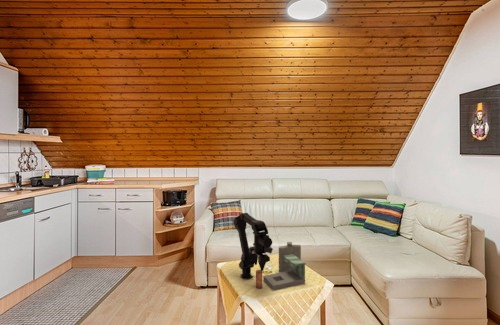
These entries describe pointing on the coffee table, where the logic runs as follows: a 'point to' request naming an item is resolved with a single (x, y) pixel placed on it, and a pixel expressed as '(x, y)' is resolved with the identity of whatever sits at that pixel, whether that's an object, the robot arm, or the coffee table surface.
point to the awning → (296, 265)
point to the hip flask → (288, 251)
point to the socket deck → (283, 280)
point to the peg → (258, 279)
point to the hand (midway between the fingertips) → (259, 267)
